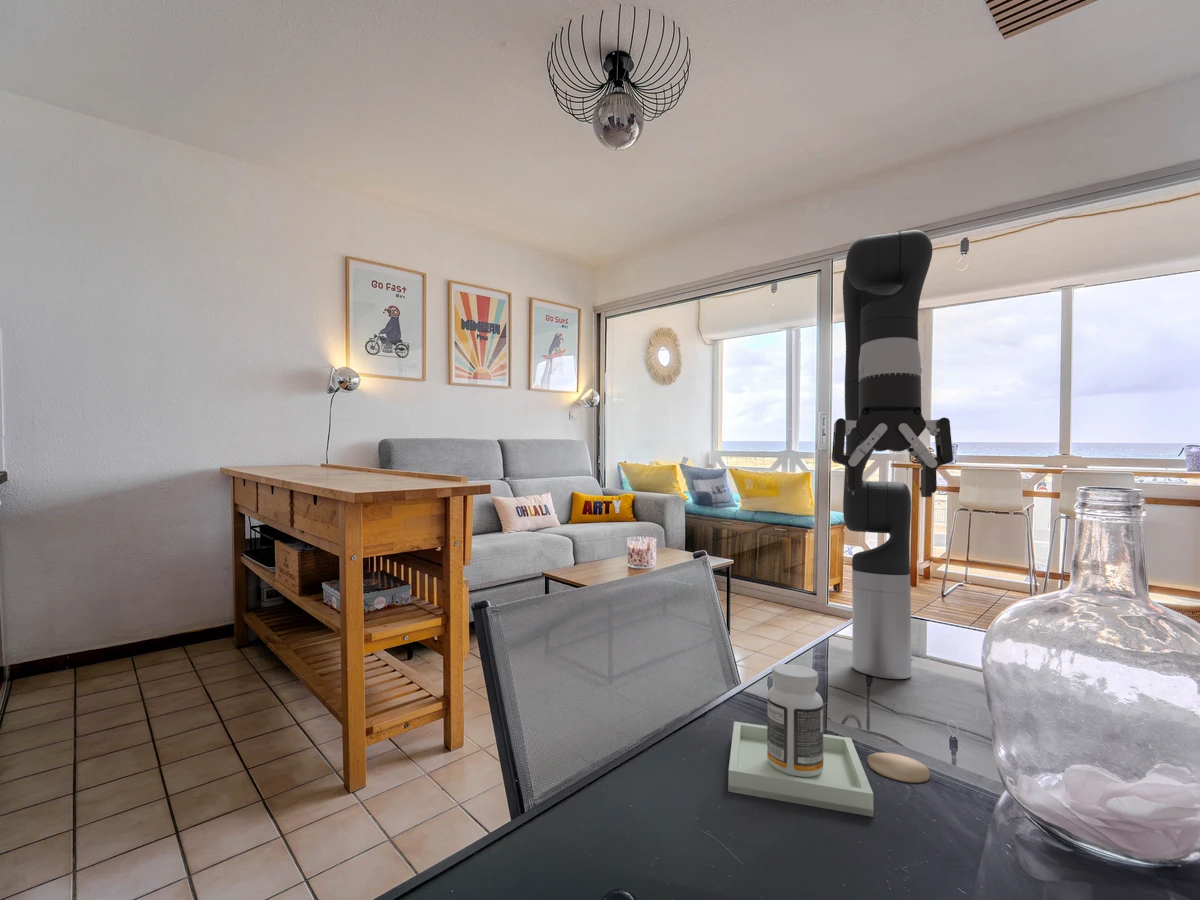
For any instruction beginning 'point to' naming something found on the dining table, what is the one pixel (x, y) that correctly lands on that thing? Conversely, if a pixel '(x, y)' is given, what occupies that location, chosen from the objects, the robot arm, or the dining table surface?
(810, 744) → the pill bottle
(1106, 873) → the dining table surface
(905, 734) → the dining table surface
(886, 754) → the coaster
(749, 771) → the tray
